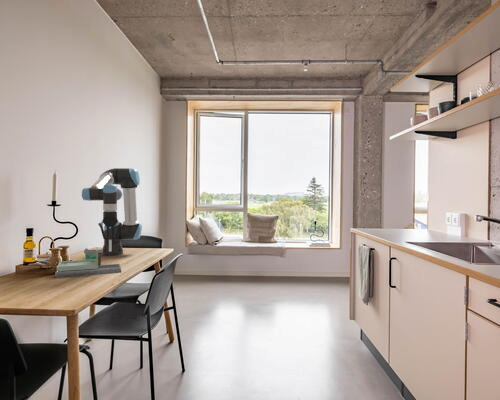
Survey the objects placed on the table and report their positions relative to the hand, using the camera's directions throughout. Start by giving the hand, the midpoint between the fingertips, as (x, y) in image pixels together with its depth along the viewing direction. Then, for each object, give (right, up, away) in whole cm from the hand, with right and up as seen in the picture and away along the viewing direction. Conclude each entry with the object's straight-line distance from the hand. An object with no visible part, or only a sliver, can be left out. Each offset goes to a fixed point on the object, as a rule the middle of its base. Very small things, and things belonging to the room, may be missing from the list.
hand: (110, 251), depth 199 cm
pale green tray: (-15, -9, -7) cm, 19 cm away
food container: (-17, -11, +13) cm, 24 cm away
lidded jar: (-40, -11, +5) cm, 42 cm away
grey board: (-10, -11, -5) cm, 16 cm away
